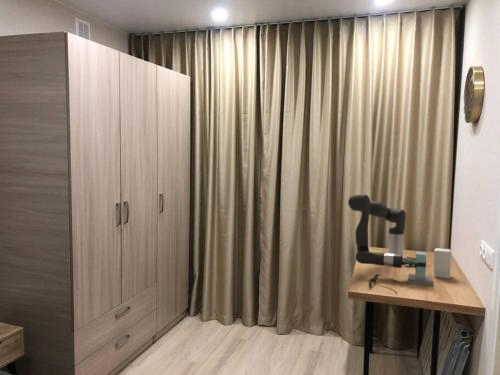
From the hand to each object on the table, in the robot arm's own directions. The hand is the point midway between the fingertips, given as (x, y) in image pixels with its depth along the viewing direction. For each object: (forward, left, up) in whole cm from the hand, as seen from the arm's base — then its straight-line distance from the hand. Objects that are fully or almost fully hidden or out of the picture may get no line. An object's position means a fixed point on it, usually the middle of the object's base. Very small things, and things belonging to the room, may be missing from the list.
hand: (426, 263), depth 219 cm
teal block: (0, -3, -6) cm, 7 cm away
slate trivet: (0, -3, -10) cm, 11 cm away
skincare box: (-15, +8, -11) cm, 20 cm away
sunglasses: (+17, -18, -11) cm, 27 cm away
